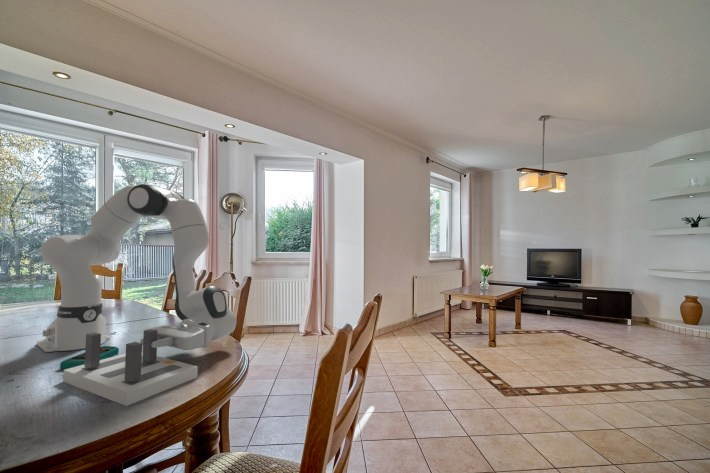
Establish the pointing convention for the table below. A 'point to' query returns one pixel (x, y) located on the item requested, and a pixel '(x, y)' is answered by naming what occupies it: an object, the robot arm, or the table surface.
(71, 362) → the digital multimeter
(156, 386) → the box
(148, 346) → the post
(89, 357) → the handle
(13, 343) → the table surface
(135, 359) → the handle
